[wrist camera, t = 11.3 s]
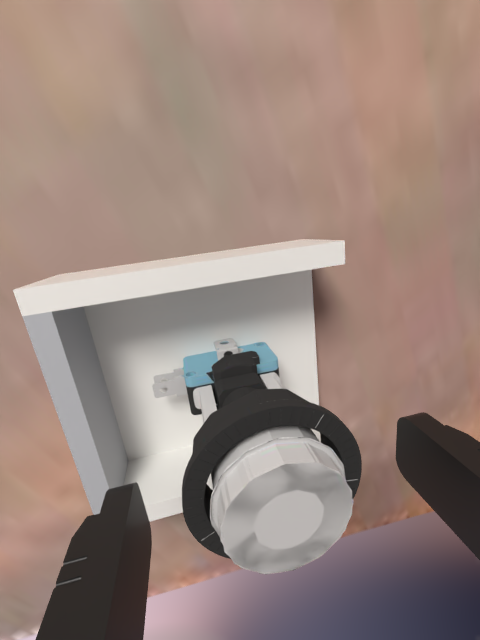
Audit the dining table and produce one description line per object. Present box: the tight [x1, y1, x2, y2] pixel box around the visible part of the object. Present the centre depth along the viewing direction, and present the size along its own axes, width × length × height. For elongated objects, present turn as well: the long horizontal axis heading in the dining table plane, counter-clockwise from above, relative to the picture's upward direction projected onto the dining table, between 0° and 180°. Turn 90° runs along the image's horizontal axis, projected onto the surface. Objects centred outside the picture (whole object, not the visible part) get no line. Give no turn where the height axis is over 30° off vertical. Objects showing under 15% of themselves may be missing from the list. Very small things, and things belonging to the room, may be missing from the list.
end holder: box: [13, 239, 345, 522], centre depth 16 cm, size 13×12×4 cm
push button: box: [152, 338, 361, 574], centre depth 12 cm, size 7×5×10 cm
